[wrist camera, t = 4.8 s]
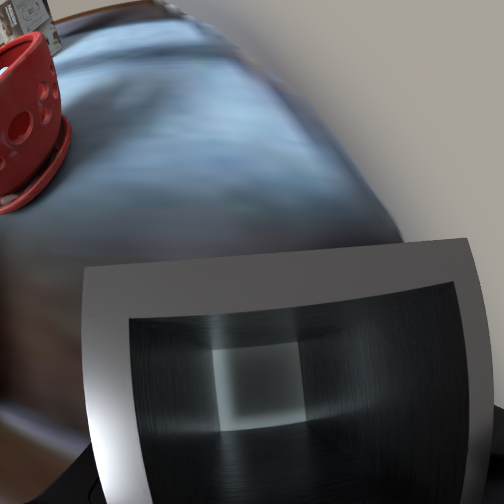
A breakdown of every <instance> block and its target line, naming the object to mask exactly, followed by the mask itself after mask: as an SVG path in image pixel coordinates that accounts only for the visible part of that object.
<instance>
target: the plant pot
mask: <svg viewBox="0 0 504 504" xmlns="http://www.w3.org/2000/svg"><path fill="white" fill-rule="evenodd" d="M4 67H8V68H7V69H6V70H5V71H4V72H3V73H2V74H1V75H0V215H4V214H7V213H11V212H13V211H15V210H17V209H19V208H21V207H22V206H24V205H25V204H27V203H28V202H30V201H31V200H32V199H33V198H34V197H35V196H37V195H38V194H39V193H40V192H41V191H42V190H43V189H44V188H45V186H46V185H47V184H48V183H49V182H50V180H51V179H52V178H53V177H54V175H55V174H56V172H57V171H58V169H59V167H60V166H61V164H62V162H63V160H64V158H65V156H66V153H67V151H68V148H69V144H70V140H71V126H70V123H69V120H68V119H67V118H66V117H65V116H64V115H62V114H61V97H60V91H59V86H58V81H57V75H56V70H55V66H54V62H53V59H52V56H51V53H50V50H49V47H48V44H47V42H46V39H45V36H44V34H43V33H42V32H39V31H35V32H30V33H27V34H25V35H22V36H20V37H17V38H16V39H14V40H12V41H10V42H8V43H6V44H5V45H3V46H1V47H0V70H1V69H2V68H4Z"/></svg>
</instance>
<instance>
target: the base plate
mask: <svg viewBox="0 0 504 504" xmlns="http://www.w3.org/2000/svg"><path fill="white" fill-rule="evenodd" d="M212 353H213V364H214V374H215V384H216V393H217V402H218V411H219V419H220V427H221V431H230V430H243V429H253V428H262V427H271V426H278V425H285V424H291V423H297V422H303V421H306V415H305V405H304V395H303V386H302V377H301V368H300V360H299V351H298V343H297V342H292V343H284V344H276V345H267V346H258V347H247V348H236V349H223V350H212Z"/></svg>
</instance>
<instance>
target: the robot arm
mask: <svg viewBox="0 0 504 504" xmlns="http://www.w3.org/2000/svg"><path fill="white" fill-rule="evenodd" d="M24 504H107V501H106V498H105V495H104V491H103V488H102V484H101V481H100V477H99V473H98V469H97V465H96V460H95V456H94V451H93V446H92V442H91V443H90V444H89V445H88V447H87V448H86V449H85V450H84V451H83V452H82V454H81V455H80V456H79V457H78V458H77V459H76V460H75V461H74V462H73V463H72V464H71V465H70V466H69V467H68V468H67V469H66V470H65V471H64V472H63V473H62V474H61V475H60V476H59V477H58V478H57V479H56V480H55V481H54V482H53V483H52V484H51V485H49V486H48V487H47V488H46V489H45V490H44V491H43V492H42V493H41V494H40V495H38V496H37V497H36V498H34V499H33V500H31V501H29V502H27V503H24ZM481 504H504V409H502V408H500V407H498V406H495V405H494V412H493V432H492V443H491V452H490V460H489V466H488V472H487V478H486V483H485V488H484V492H483V497H482V501H481Z"/></svg>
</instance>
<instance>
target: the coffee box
mask: <svg viewBox="0 0 504 504" xmlns="http://www.w3.org/2000/svg"><path fill="white" fill-rule="evenodd" d="M35 31H39V32H42V33H43V34H44V36H45V39H46V42H47V44H48V47H49V50H50V53H51V56H53V55H54V54H55V53H57V52H58V51H60V50H61V49H62V45H61V42H60V40H59V37H58V34H57V31H56V28H55V25H54V22H53V19H52V16H51V13H50V10H49V6H48V3H47V0H7V1H6V2H4V3H3V4H2V5H0V33H1V35H2V37H3V40H4V42H5V44H6V43H8V42H10V41H12V40H14V39H16V38H17V37H20V36H22V35H25V34H27V33H30V32H35Z"/></svg>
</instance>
